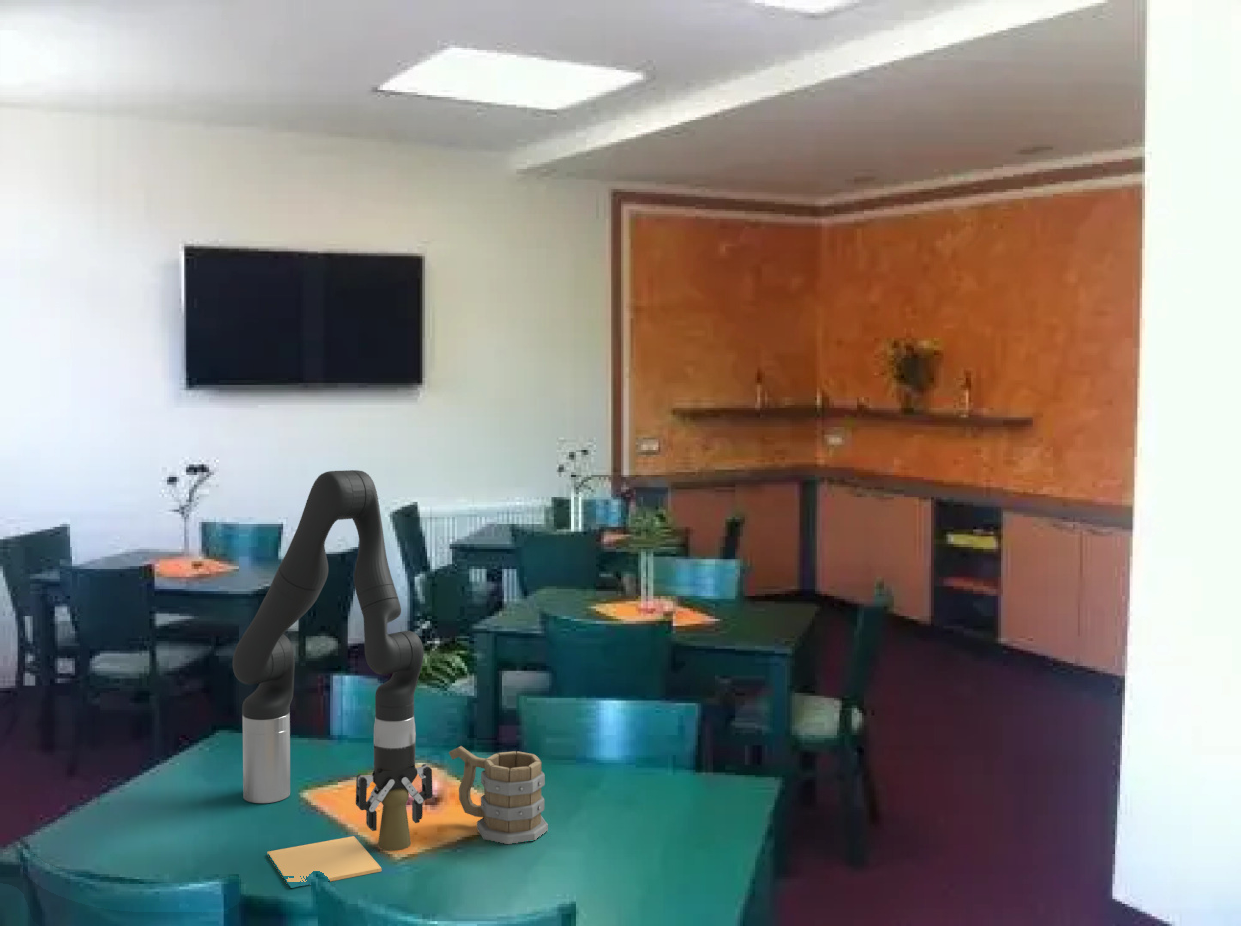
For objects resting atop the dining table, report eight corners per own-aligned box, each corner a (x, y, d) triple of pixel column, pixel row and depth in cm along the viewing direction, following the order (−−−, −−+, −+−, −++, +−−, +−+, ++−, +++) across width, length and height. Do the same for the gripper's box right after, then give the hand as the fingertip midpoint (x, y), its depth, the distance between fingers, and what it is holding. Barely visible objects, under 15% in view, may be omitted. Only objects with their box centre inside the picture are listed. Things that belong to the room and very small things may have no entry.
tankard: (556, 825, 242) (558, 750, 241) (524, 849, 231) (525, 770, 230) (468, 807, 251) (469, 735, 249) (433, 829, 239) (434, 753, 238)
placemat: (267, 855, 226) (267, 851, 226) (353, 839, 234) (353, 836, 234) (290, 889, 212) (290, 886, 212) (381, 871, 220) (381, 868, 220)
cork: (403, 852, 228) (403, 793, 227) (372, 848, 230) (372, 790, 229) (415, 839, 234) (415, 782, 233) (385, 836, 236) (385, 779, 235)
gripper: (424, 729, 237) (423, 812, 238) (350, 739, 230) (350, 825, 231) (438, 740, 230) (438, 826, 232) (363, 751, 223) (363, 839, 225)
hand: (394, 825), depth 232 cm, fingers open, 8 cm apart
